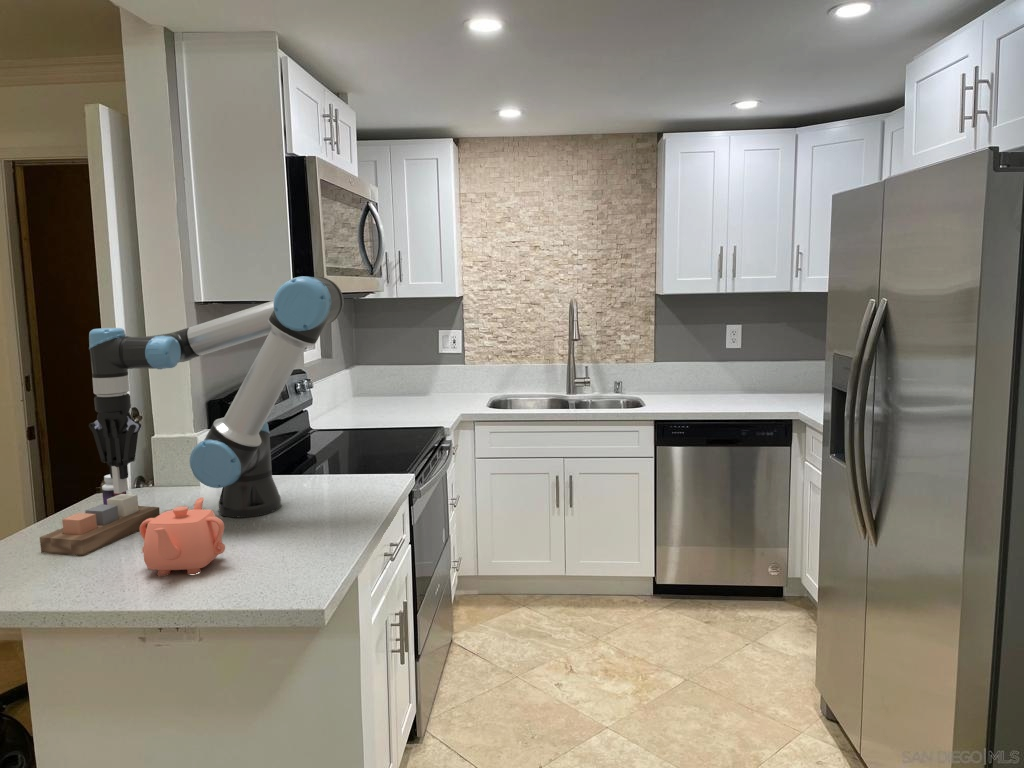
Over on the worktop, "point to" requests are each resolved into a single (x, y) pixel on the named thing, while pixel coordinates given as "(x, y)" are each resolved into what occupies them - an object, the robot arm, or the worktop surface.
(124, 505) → the cream cube
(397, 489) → the worktop surface
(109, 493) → the pill bottle
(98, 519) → the slate key
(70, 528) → the salmon orange cube
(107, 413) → the robot arm
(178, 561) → the teapot
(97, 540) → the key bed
